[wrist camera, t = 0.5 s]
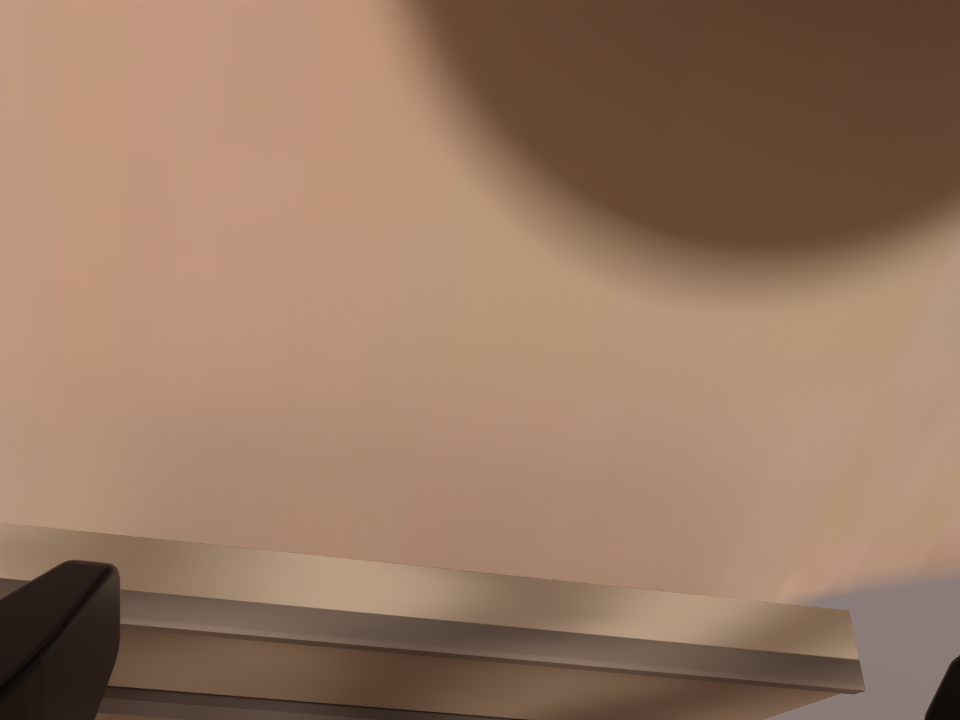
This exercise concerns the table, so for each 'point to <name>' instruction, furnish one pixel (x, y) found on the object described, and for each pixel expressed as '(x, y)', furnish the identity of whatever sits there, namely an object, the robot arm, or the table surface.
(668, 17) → the table surface
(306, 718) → the laid board
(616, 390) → the table surface
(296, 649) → the plank
